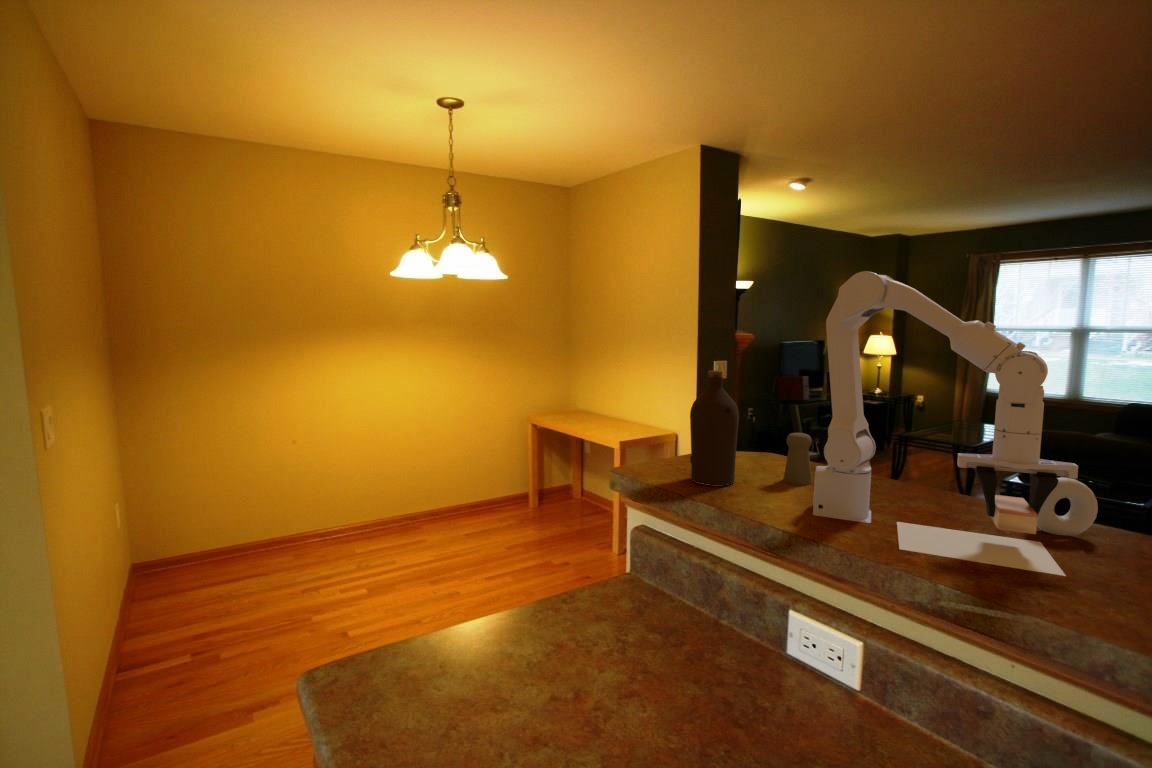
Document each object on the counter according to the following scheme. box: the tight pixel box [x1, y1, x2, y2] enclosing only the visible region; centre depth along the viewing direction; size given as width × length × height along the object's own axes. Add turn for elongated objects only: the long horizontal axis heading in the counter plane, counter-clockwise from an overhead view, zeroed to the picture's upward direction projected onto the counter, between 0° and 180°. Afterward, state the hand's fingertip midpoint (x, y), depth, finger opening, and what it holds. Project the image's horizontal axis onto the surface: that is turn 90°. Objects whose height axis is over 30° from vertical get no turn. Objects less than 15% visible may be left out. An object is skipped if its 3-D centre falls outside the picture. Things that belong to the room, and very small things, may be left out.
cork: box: [782, 432, 813, 486], centre depth 127 cm, size 6×6×11 cm
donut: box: [1037, 476, 1099, 537], centre depth 94 cm, size 10×4×10 cm, turn 84°
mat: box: [896, 521, 1067, 577], centre depth 89 cm, size 20×14×1 cm
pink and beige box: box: [989, 494, 1038, 535], centre depth 87 cm, size 9×4×3 cm, turn 152°
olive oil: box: [689, 370, 740, 485], centre depth 126 cm, size 11×11×25 cm
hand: (1010, 517), depth 88 cm, fingers closed on pink and beige box, 4 cm apart
